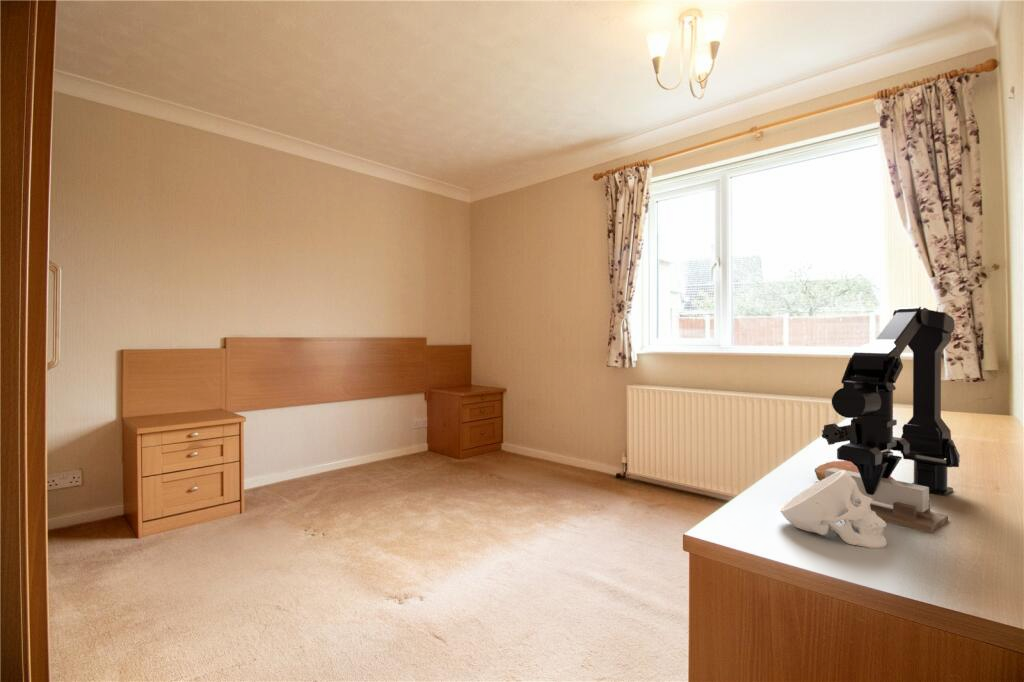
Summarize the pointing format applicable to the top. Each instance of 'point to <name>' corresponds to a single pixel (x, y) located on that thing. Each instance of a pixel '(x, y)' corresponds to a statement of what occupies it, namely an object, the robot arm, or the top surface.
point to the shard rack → (909, 516)
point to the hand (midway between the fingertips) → (873, 492)
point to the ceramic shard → (839, 465)
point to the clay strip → (892, 491)
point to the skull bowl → (837, 511)
